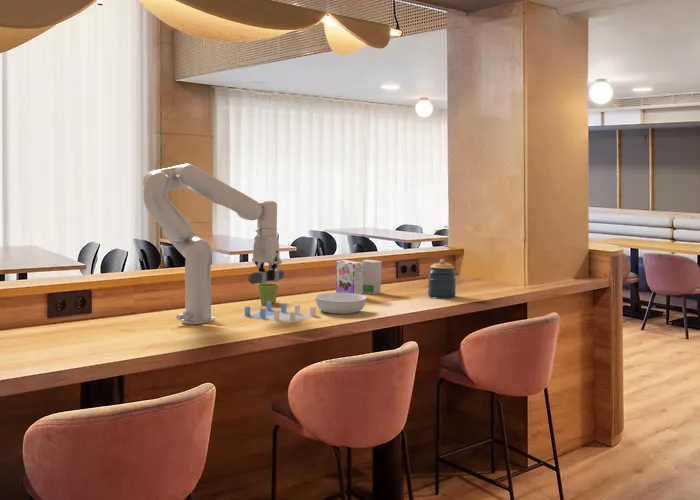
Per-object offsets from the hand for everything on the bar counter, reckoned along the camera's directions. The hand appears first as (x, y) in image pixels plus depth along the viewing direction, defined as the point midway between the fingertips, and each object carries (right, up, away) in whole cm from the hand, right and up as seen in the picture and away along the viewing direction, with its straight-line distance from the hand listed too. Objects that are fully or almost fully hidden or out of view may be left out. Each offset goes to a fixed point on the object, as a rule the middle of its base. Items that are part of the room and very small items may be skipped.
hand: (266, 279), depth 271 cm
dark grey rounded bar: (0, -1, 0) cm, 1 cm away
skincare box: (+43, -10, +62) cm, 76 cm away
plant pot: (-3, -13, +28) cm, 30 cm away
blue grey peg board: (+6, -15, -2) cm, 16 cm away
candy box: (+32, -11, +51) cm, 61 cm away
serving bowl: (+29, -15, +10) cm, 34 cm away
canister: (+76, -11, +53) cm, 93 cm away
